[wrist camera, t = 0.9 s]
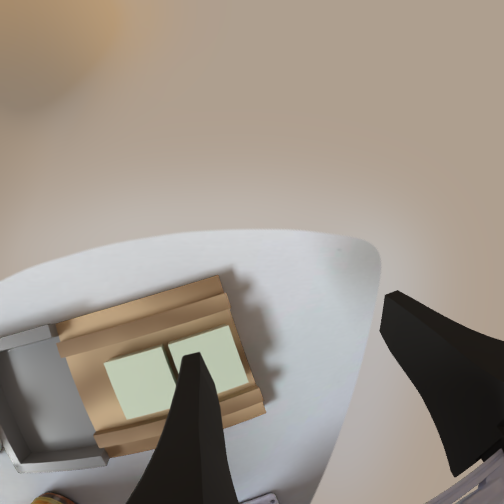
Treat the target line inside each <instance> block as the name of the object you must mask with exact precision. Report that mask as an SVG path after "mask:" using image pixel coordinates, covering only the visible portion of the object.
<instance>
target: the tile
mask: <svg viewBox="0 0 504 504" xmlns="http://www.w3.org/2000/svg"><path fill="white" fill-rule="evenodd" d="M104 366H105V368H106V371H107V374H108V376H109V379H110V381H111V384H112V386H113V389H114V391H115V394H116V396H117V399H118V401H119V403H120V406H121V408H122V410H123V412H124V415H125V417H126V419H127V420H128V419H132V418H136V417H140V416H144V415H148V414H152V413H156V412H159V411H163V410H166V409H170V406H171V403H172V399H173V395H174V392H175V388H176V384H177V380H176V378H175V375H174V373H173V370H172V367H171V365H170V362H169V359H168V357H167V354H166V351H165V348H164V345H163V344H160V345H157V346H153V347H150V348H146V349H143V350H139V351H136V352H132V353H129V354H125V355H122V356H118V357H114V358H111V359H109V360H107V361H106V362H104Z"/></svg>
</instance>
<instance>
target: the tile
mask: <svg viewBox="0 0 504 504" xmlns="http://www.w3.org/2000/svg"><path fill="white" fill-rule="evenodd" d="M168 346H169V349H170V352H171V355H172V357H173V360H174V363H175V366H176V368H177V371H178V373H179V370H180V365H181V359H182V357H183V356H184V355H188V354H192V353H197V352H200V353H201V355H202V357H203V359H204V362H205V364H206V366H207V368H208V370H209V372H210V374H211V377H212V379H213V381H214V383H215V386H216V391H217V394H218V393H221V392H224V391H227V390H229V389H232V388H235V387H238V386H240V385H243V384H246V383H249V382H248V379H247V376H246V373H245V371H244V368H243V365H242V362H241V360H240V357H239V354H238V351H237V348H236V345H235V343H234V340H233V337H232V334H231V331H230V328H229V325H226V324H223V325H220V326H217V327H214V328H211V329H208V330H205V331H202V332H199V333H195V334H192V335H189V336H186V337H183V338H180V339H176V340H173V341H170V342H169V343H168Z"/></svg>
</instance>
